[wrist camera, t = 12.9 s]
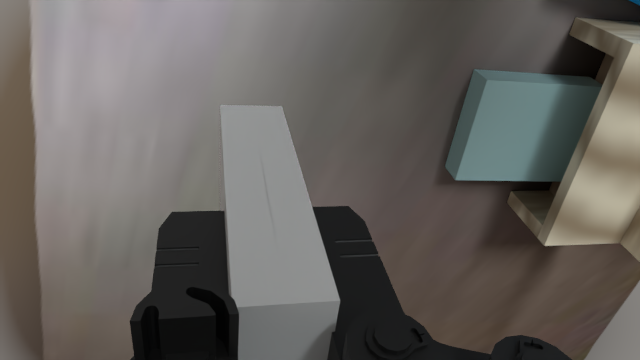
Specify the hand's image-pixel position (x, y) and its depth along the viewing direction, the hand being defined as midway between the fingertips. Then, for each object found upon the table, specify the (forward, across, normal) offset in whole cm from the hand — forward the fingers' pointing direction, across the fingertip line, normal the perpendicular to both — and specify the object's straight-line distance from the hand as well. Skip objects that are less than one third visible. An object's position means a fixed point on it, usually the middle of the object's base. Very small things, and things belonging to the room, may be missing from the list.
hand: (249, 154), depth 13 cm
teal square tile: (+29, +28, -13) cm, 42 cm away
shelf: (+28, +35, -12) cm, 46 cm away
